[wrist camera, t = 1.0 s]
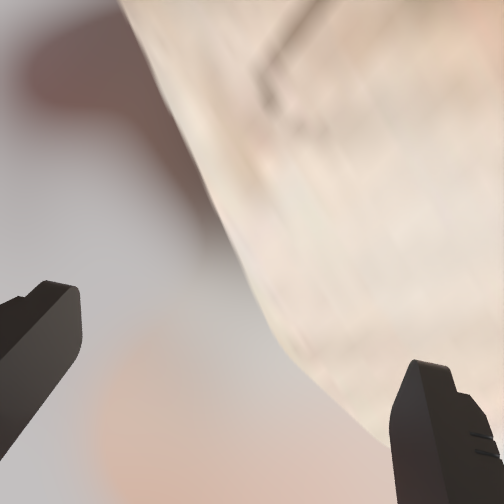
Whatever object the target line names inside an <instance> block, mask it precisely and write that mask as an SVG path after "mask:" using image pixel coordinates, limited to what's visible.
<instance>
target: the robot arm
mask: <svg viewBox="0 0 504 504" xmlns="http://www.w3.org/2000/svg"><path fill="white" fill-rule="evenodd" d="M81 344H82V321H81V305H80V293H79V290H78V288H77V287H75V286H71V285H66V284H61V283H56V282H52V281H47V280H46V281H43V282H41V283H40V284H39V285H38V286H37V287H35V288H34V289H33V290H32V291H31V292H30V293H29V294H28V295H27V296H26V297H20V296H17V297H15V298H13V299H11V300H9V301H7V302H5V303H3V304H1V305H0V461H1V459H2V458H3V456H4V455H5V454H6V453H7V451H8V450H9V448H10V447H11V446H12V444H13V443H14V442H15V440H16V439H17V438H18V436H19V435H20V434H21V432H22V431H23V429H24V428H25V427H26V426H27V424H28V423H29V421H30V420H31V419H32V418H33V416H34V415H35V414H36V412H37V411H38V410H39V408H40V407H41V406H42V404H43V403H44V401H45V400H46V399H47V397H48V396H49V395H50V393H51V392H52V391H53V389H54V388H55V386H56V385H57V384H58V383H59V381H60V380H61V378H62V377H63V376H64V375H65V373H66V372H67V370H68V369H69V368H70V367H71V365H72V364H73V363H74V361H75V359H76V358H77V356H78V353H79V351H80V348H81ZM389 435H390V444H391V452H392V461H393V469H394V477H395V486H396V494H397V501H398V502H397V503H398V504H504V464H503V462H502V459H500V453H499V451H498V448H497V445H496V442H495V441H493V434H492V431H491V428H490V426H489V423H488V420H487V417H486V415H485V414H484V412H483V411H482V410H481V409H480V407H479V406H478V405H477V404H476V402H475V401H474V400H473V399H472V397H471V396H470V395H468V394H464V393H459V392H457V390H456V387H455V384H454V380H453V377H452V374H451V371H450V369H449V368H448V367H447V366H443V365H438V364H433V363H429V362H424V361H419V360H412V361H411V363H410V364H409V366H408V369H407V371H406V374H405V376H404V379H403V381H402V384H401V386H400V389H399V391H398V394H397V396H396V399H395V401H394V404H393V406H392V410H391V414H390V422H389Z"/></svg>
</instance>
